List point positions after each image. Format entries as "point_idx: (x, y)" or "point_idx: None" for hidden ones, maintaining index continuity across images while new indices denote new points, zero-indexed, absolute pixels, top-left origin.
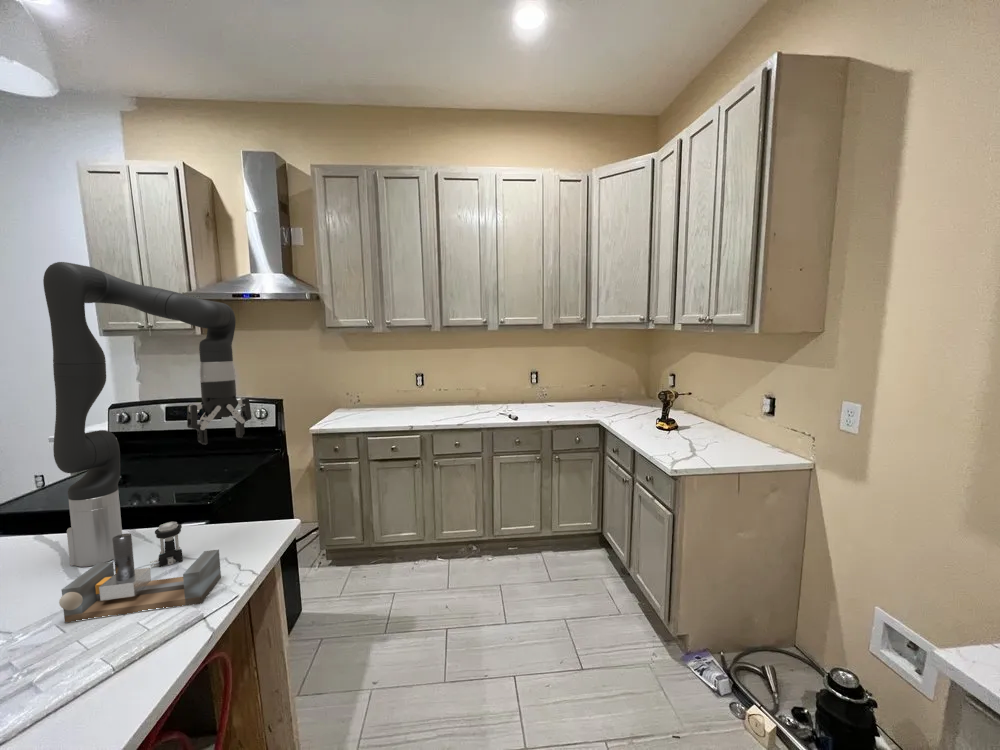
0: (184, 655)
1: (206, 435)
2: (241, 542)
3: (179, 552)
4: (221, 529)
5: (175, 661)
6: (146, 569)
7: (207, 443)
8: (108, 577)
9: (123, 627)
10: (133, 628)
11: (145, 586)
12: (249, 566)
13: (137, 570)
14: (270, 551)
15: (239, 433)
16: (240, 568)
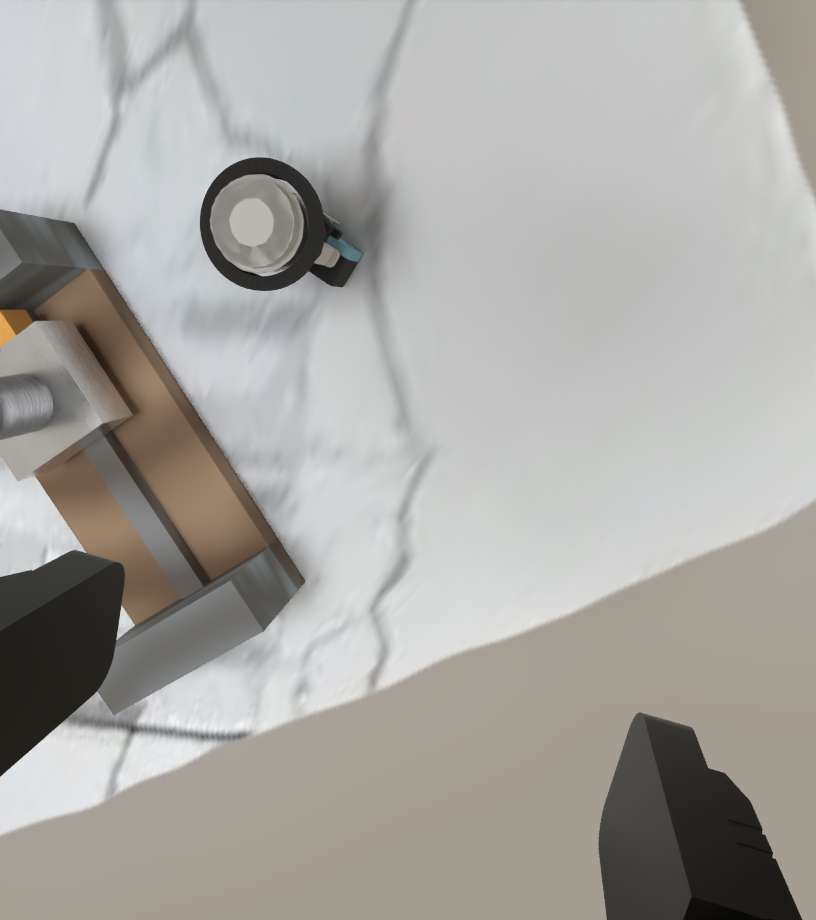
0: (23, 808)
1: (5, 759)
2: (572, 390)
3: (323, 279)
4: (678, 113)
5: (3, 805)
6: (88, 425)
7: (103, 681)
8: (4, 325)
9: (15, 533)
10: (24, 568)
11: (103, 437)
12: (405, 620)
13: (69, 396)
14: (535, 607)
15: (607, 870)
16: (381, 596)
